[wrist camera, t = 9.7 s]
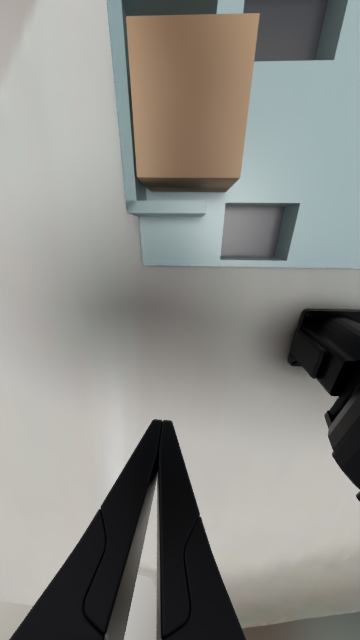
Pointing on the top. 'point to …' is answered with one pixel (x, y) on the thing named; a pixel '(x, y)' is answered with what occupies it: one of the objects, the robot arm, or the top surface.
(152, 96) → the walnut block
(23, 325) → the top surface
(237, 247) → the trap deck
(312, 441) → the top surface
